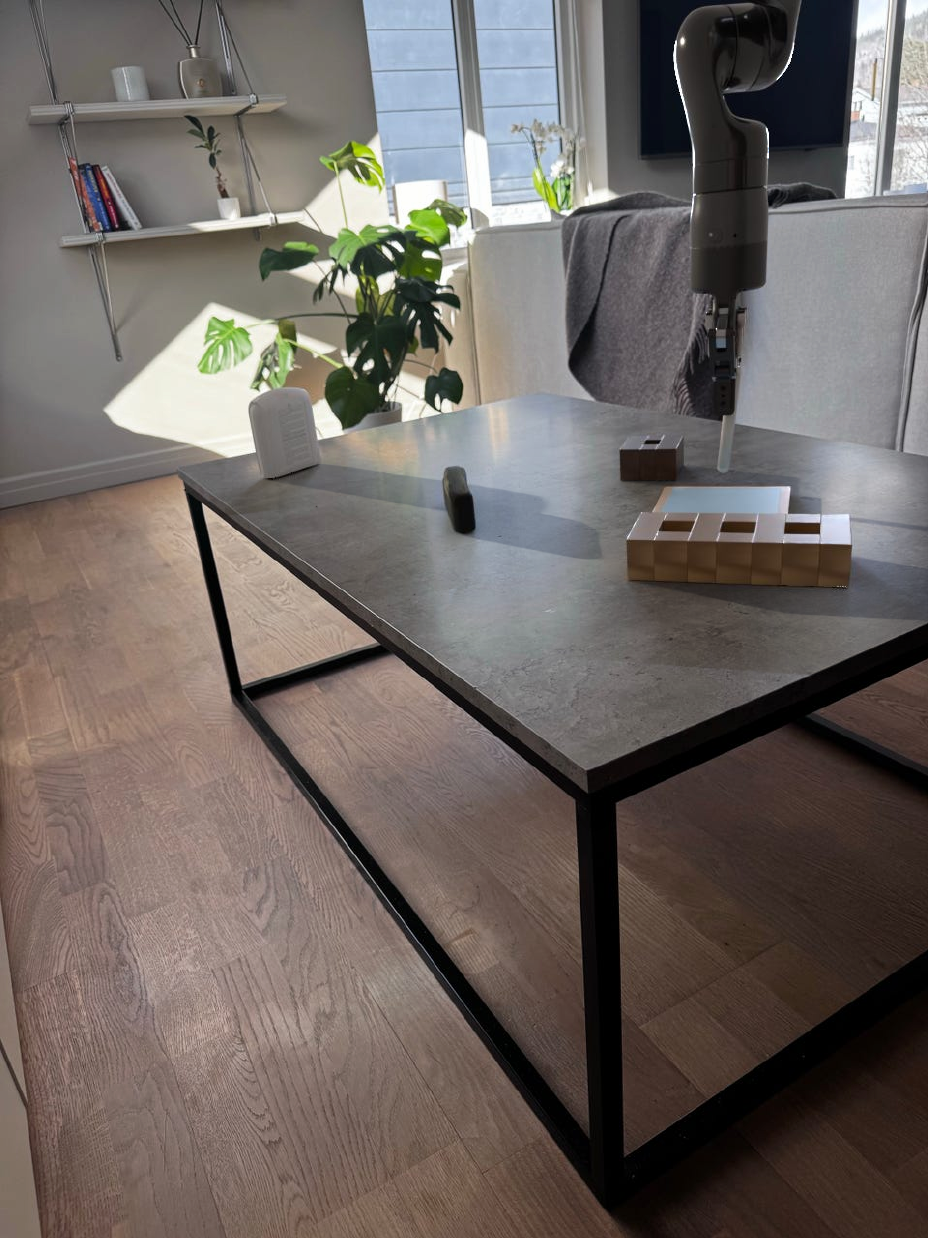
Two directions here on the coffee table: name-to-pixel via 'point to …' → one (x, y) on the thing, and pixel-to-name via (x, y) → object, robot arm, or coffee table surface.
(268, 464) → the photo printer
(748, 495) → the tablet
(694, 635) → the coffee table surface
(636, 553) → the pen holder
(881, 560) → the coffee table surface
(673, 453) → the stand
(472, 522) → the dark grey tall block
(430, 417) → the coffee table surface
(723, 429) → the stylus
